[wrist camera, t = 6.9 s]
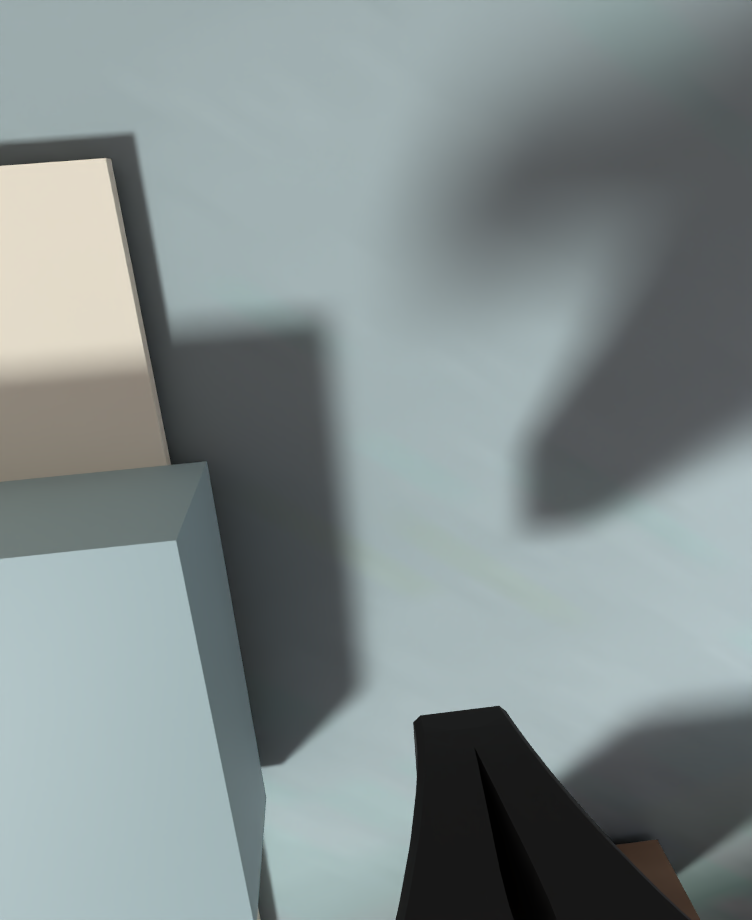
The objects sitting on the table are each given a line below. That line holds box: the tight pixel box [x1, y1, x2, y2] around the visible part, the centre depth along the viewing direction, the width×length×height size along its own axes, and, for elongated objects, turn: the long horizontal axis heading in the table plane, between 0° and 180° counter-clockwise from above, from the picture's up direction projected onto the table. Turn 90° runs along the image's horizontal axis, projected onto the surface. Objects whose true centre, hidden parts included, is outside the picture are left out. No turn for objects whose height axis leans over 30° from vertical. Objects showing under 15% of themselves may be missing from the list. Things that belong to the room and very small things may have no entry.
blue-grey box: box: [0, 461, 266, 920], centre depth 12 cm, size 3×8×6 cm
